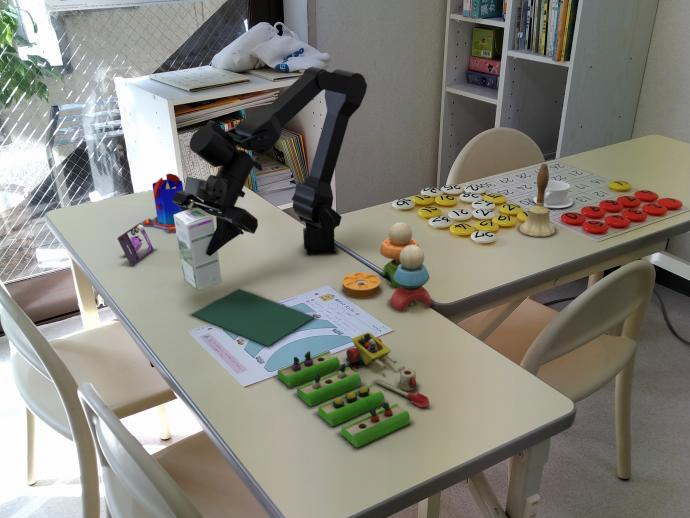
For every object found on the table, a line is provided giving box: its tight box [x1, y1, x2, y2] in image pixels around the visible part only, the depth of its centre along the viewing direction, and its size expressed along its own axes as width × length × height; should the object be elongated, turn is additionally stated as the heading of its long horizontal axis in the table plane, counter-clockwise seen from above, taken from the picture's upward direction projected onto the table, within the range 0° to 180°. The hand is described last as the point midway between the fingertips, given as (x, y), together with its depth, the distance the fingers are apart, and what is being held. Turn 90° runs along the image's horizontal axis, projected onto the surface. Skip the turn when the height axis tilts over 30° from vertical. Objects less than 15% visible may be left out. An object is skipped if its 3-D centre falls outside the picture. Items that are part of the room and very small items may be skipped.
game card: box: [117, 222, 154, 267], centre depth 167 cm, size 7×5×9 cm
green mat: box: [191, 288, 315, 348], centre depth 143 cm, size 20×13×1 cm, turn 53°
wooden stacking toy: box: [341, 222, 432, 313], centre depth 147 cm, size 18×17×12 cm
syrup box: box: [174, 207, 223, 291], centre depth 144 cm, size 6×6×14 cm
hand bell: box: [518, 163, 556, 238], centre depth 173 cm, size 8×8×16 cm
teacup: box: [532, 179, 574, 209], centre depth 191 cm, size 10×10×5 cm
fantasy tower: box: [142, 173, 184, 234], centre depth 182 cm, size 12×12×12 cm
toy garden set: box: [277, 331, 430, 449], centre depth 121 cm, size 23×19×5 cm
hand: (196, 250), depth 144 cm, fingers closed on syrup box, 6 cm apart
